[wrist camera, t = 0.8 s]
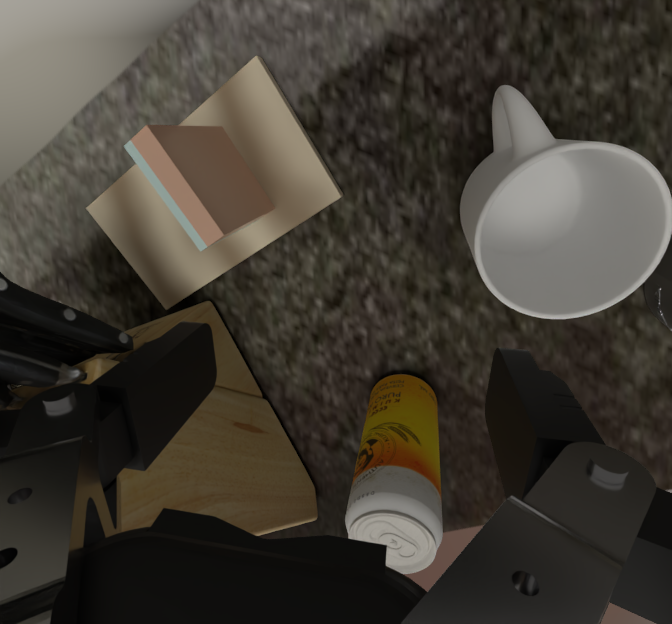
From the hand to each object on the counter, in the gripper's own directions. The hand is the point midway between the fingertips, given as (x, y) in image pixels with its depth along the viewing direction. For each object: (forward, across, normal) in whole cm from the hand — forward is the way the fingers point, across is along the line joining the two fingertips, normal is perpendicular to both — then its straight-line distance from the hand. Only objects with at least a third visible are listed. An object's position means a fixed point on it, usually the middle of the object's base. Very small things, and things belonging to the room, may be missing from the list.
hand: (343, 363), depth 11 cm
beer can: (+23, -2, +16) cm, 28 cm away
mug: (+22, -9, -4) cm, 24 cm away
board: (+22, +15, -1) cm, 27 cm away
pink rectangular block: (+21, +12, -4) cm, 24 cm away
